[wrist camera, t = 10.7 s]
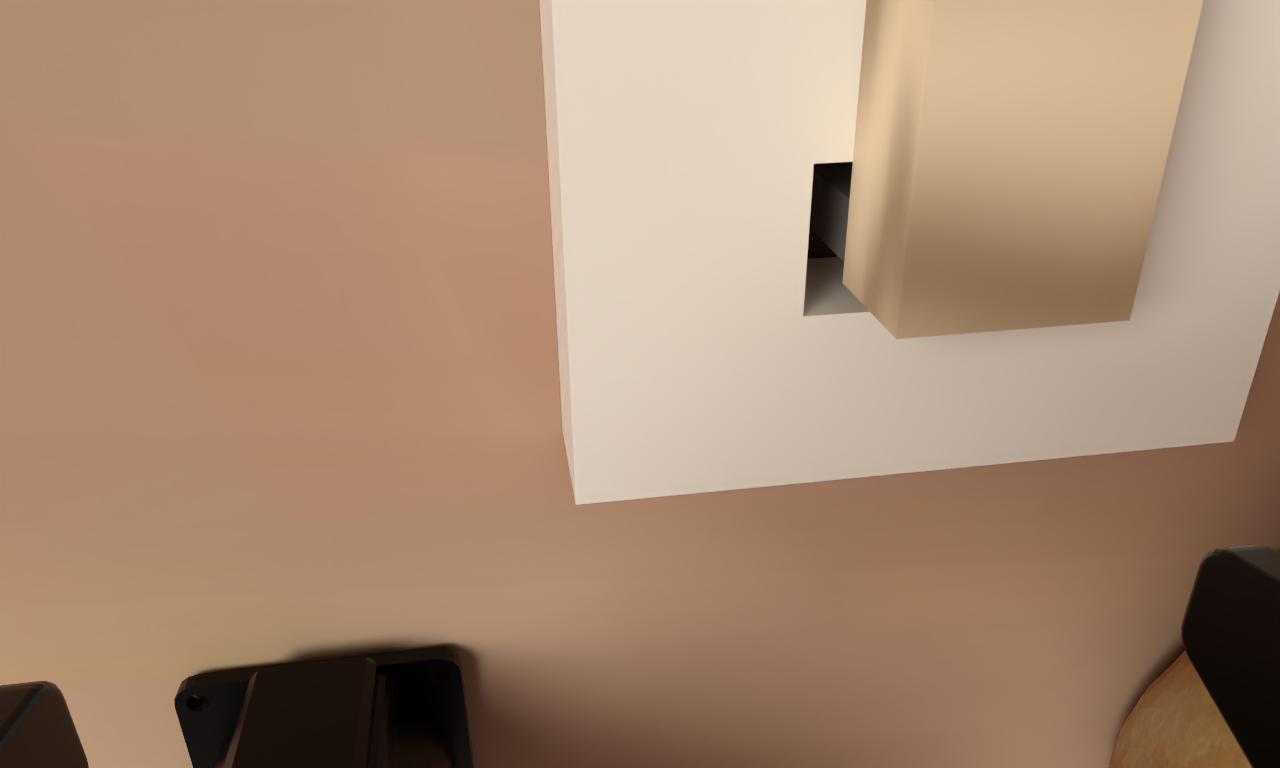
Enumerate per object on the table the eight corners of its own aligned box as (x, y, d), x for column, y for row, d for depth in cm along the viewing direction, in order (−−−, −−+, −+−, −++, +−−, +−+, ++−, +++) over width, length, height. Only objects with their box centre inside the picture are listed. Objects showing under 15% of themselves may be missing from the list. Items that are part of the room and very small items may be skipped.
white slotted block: (1146, 379, 23) (1234, 441, 21) (562, 429, 22) (575, 504, 19) (1263, -85, 19) (1392, -81, 16) (535, -73, 17) (548, -66, 14)
